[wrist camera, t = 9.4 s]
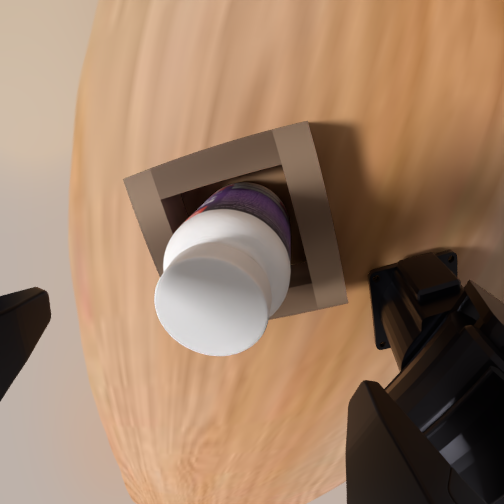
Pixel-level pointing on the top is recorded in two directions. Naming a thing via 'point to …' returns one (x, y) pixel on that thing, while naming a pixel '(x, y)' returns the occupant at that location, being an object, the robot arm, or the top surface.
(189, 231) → the pill bottle
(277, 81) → the top surface
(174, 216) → the socket
